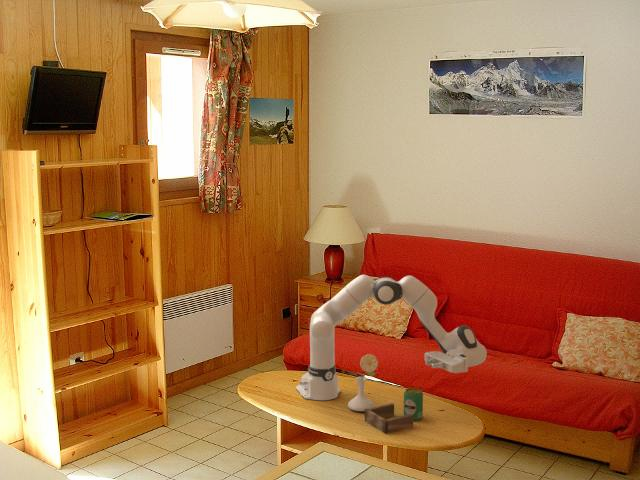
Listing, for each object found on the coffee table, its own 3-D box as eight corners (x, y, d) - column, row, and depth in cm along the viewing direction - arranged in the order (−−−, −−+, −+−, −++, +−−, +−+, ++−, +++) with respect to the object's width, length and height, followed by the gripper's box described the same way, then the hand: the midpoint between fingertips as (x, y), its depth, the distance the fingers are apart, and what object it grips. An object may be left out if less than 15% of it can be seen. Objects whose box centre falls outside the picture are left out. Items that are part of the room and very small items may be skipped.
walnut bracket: (364, 420, 318) (364, 409, 318) (392, 414, 325) (392, 403, 324) (385, 433, 306) (385, 421, 305) (413, 426, 312) (413, 415, 312)
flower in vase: (346, 413, 327) (346, 357, 323) (349, 403, 338) (349, 349, 334) (376, 414, 325) (377, 358, 321) (378, 404, 336) (379, 350, 332)
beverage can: (400, 419, 320) (400, 391, 318) (408, 412, 327) (408, 386, 325) (418, 422, 316) (418, 395, 314) (425, 416, 323) (426, 389, 321)
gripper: (439, 346, 337) (414, 351, 330) (470, 358, 320) (444, 364, 313) (439, 359, 338) (414, 365, 331) (470, 373, 321) (444, 378, 314)
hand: (429, 364), depth 322 cm, fingers closed
